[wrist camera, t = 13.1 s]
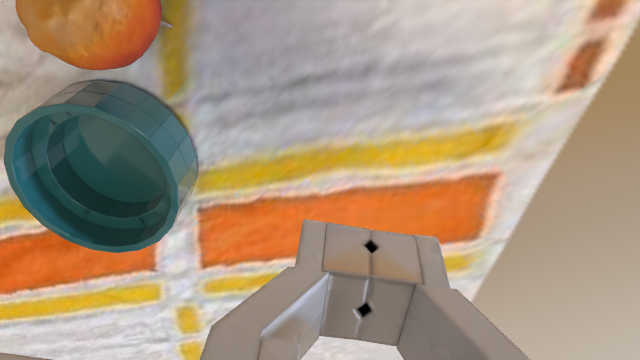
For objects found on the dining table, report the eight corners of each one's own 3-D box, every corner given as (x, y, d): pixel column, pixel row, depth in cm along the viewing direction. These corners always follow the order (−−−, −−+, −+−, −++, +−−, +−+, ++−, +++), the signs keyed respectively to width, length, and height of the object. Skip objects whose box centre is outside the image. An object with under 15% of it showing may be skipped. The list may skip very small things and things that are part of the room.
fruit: (121, 101, 33) (16, 84, 25) (84, 0, 33) (-29, -46, 26) (213, 49, 30) (128, 13, 23) (172, -58, 31) (76, -128, 23)
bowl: (30, 67, 34) (-17, 92, 29) (197, 89, 33) (173, 118, 29) (61, 204, 40) (25, 241, 36) (201, 223, 40) (182, 262, 36)
